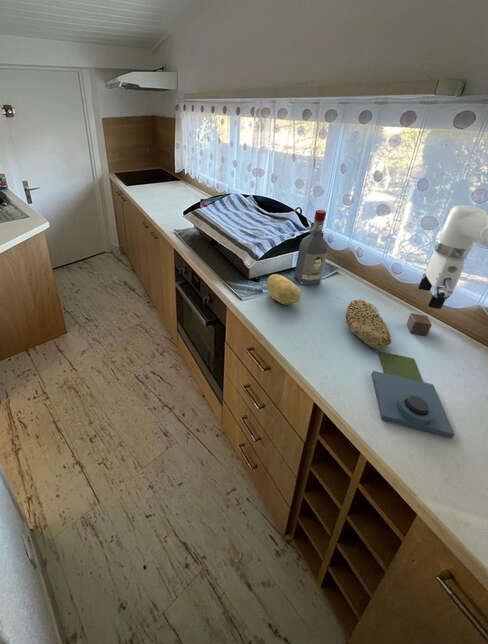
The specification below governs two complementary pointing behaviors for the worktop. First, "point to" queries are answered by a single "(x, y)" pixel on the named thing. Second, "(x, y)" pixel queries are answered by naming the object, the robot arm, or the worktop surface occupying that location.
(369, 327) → the sponge
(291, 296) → the potato
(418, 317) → the block
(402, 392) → the box
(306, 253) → the liquor
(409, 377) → the pad
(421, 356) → the worktop surface
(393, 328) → the worktop surface
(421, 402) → the button
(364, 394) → the worktop surface
